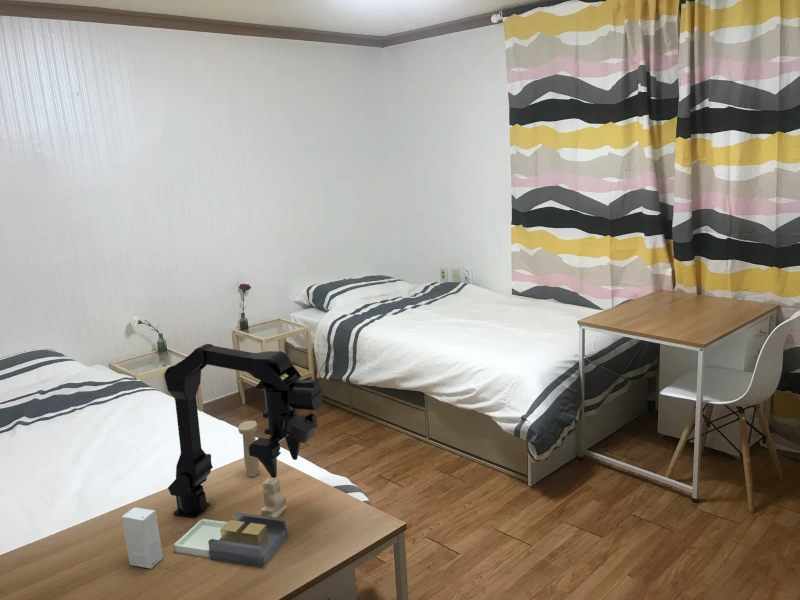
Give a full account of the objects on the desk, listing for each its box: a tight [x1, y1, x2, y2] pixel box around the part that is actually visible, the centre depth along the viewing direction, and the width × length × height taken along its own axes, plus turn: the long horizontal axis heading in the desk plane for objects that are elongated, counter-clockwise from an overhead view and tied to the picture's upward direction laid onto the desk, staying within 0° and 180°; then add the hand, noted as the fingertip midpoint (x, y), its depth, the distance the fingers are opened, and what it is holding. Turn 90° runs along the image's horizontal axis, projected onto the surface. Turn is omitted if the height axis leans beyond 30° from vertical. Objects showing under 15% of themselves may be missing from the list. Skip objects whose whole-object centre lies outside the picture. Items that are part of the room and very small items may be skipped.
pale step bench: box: [260, 477, 287, 518], centre depth 157 cm, size 3×7×9 cm, turn 162°
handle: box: [238, 420, 260, 478], centre depth 177 cm, size 5×6×15 cm
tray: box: [173, 518, 228, 559], centre depth 148 cm, size 10×11×2 cm
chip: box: [241, 523, 267, 545], centre depth 143 cm, size 4×4×2 cm
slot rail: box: [208, 512, 289, 569], centre depth 144 cm, size 13×12×4 cm
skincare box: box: [121, 507, 164, 570], centre depth 140 cm, size 6×4×12 cm
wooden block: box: [220, 519, 246, 542], centre depth 145 cm, size 4×4×2 cm
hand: (284, 468), depth 150 cm, fingers open, 9 cm apart
